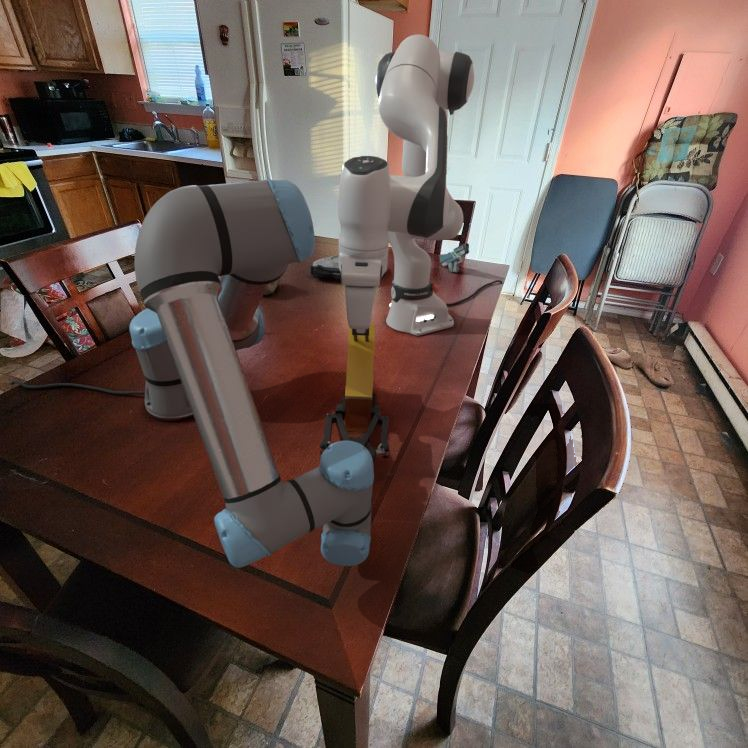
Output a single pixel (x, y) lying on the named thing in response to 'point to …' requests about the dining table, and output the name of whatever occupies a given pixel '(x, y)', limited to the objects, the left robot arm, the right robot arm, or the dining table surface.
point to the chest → (357, 413)
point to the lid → (360, 363)
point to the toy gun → (455, 257)
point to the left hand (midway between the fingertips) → (359, 397)
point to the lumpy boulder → (272, 287)
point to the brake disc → (327, 268)
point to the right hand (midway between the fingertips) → (361, 327)
